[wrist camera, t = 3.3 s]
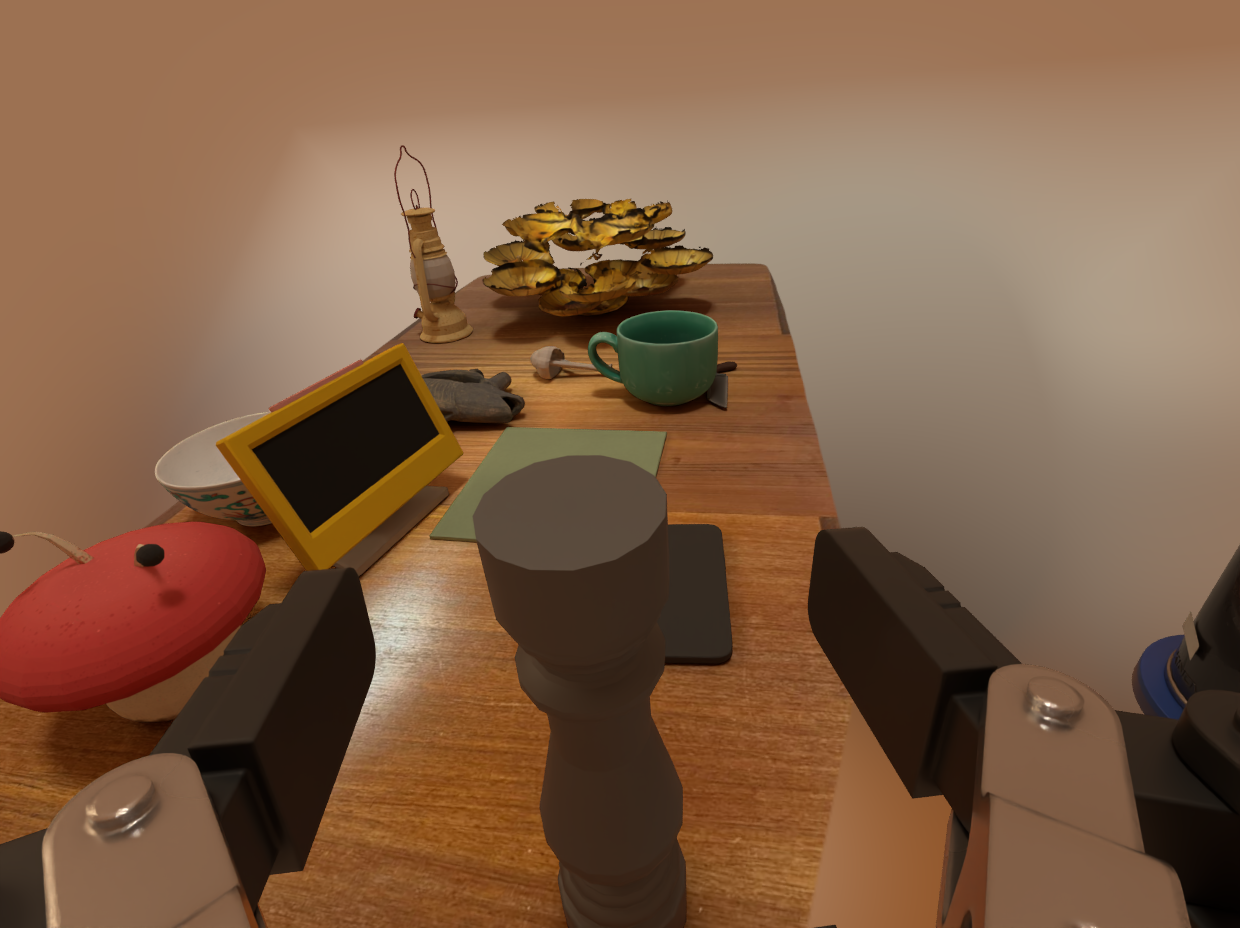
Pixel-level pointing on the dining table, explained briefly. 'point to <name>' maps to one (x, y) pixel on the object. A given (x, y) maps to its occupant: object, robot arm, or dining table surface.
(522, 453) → the mat
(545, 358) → the mushroom
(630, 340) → the mug
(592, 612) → the candle holder
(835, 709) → the dining table surface
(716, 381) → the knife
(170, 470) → the chinaware
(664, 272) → the mushroom
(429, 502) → the yellow framed monitor
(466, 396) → the ceramic vessel
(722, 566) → the phone
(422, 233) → the lantern
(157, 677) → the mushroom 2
